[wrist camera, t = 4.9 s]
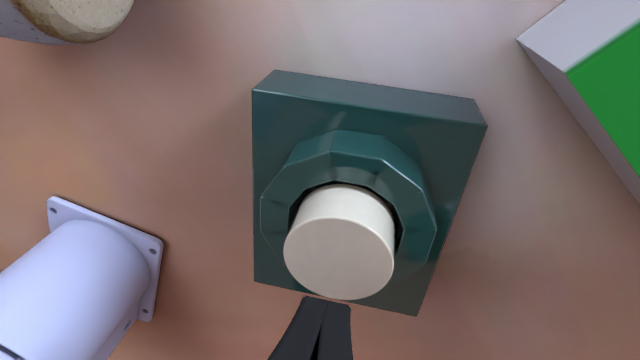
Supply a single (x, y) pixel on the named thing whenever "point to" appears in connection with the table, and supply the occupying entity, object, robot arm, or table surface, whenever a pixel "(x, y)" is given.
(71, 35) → the ceramic mug
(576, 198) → the table surface
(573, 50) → the tray
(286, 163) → the dark green button base
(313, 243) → the white push button
